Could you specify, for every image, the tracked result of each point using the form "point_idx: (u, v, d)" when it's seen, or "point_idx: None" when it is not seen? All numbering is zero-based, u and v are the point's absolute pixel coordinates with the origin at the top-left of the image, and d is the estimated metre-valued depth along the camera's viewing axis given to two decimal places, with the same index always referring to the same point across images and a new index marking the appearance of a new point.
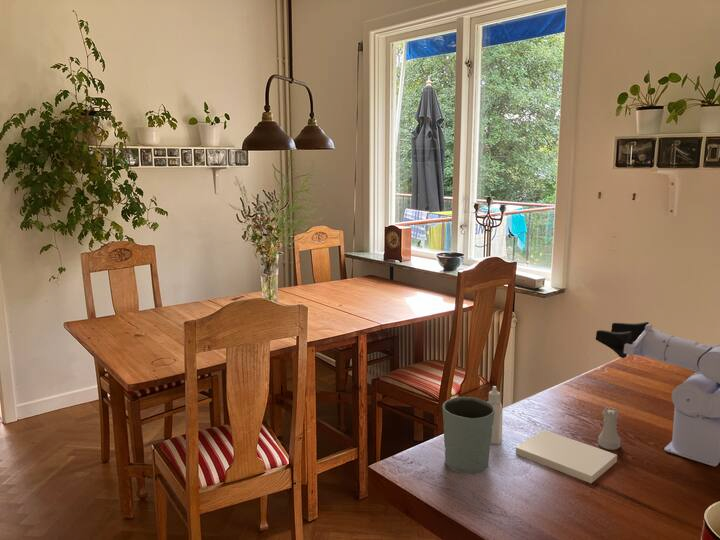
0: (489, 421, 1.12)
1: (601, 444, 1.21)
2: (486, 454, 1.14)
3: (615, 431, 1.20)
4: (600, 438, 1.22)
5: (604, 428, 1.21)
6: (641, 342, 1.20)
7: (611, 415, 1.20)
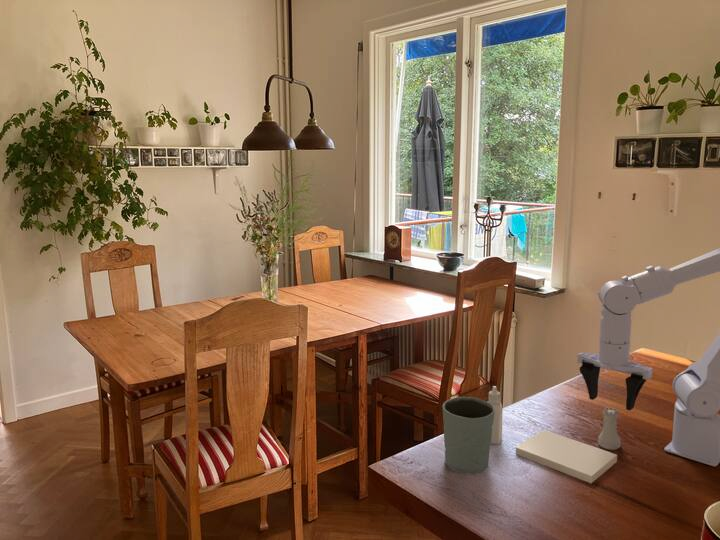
0: (489, 421, 1.12)
1: (601, 444, 1.21)
2: (486, 454, 1.14)
3: (615, 431, 1.20)
4: (600, 438, 1.22)
5: (604, 428, 1.21)
6: (626, 366, 1.16)
7: (611, 415, 1.20)
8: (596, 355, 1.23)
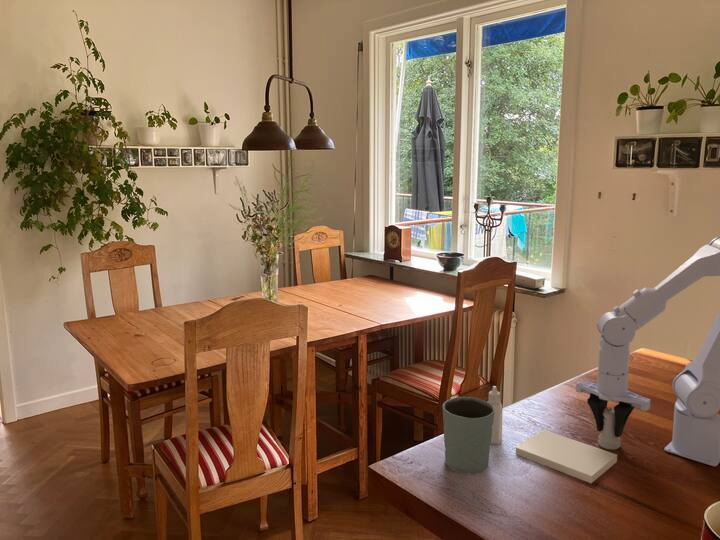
0: (489, 421, 1.12)
1: (601, 444, 1.21)
2: (486, 454, 1.14)
3: None
4: (600, 438, 1.22)
5: (604, 428, 1.21)
6: (624, 396, 1.17)
7: (611, 415, 1.20)
8: (595, 384, 1.24)
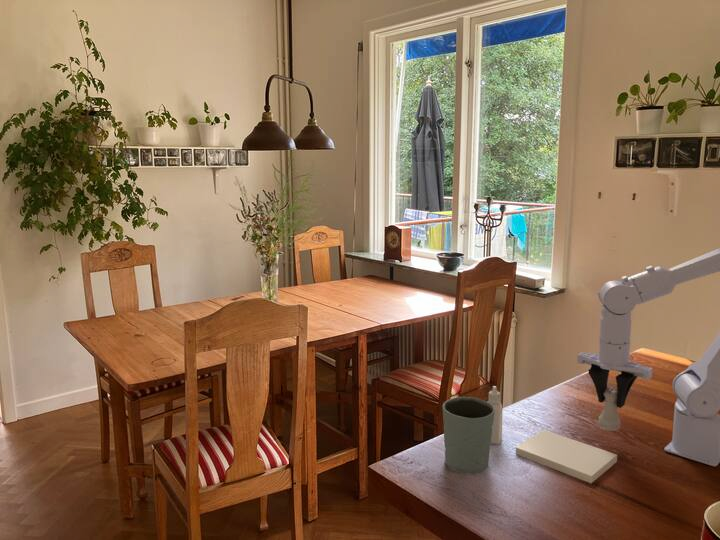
0: (489, 421, 1.12)
1: (601, 424, 1.21)
2: (486, 454, 1.14)
3: (615, 412, 1.20)
4: (600, 418, 1.21)
5: (604, 408, 1.21)
6: (626, 366, 1.16)
7: (612, 395, 1.19)
8: (596, 355, 1.23)
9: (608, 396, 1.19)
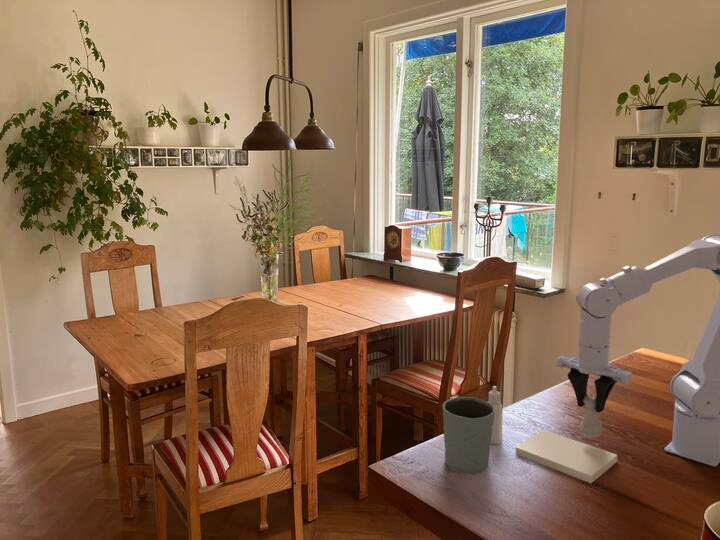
0: (489, 421, 1.12)
1: (582, 431, 1.19)
2: (486, 454, 1.14)
3: (596, 418, 1.18)
4: (581, 425, 1.19)
5: (585, 415, 1.19)
6: (605, 370, 1.14)
7: (591, 402, 1.17)
8: (576, 359, 1.21)
9: (587, 402, 1.17)
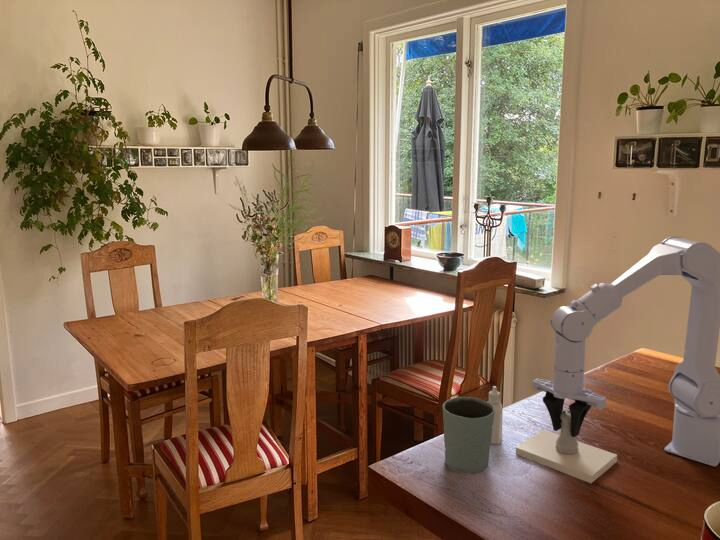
0: (489, 421, 1.12)
1: (558, 448, 1.17)
2: (486, 454, 1.14)
3: None
4: (557, 442, 1.17)
5: (561, 432, 1.17)
6: (580, 394, 1.12)
7: (568, 418, 1.15)
8: (551, 382, 1.19)
9: (564, 419, 1.16)
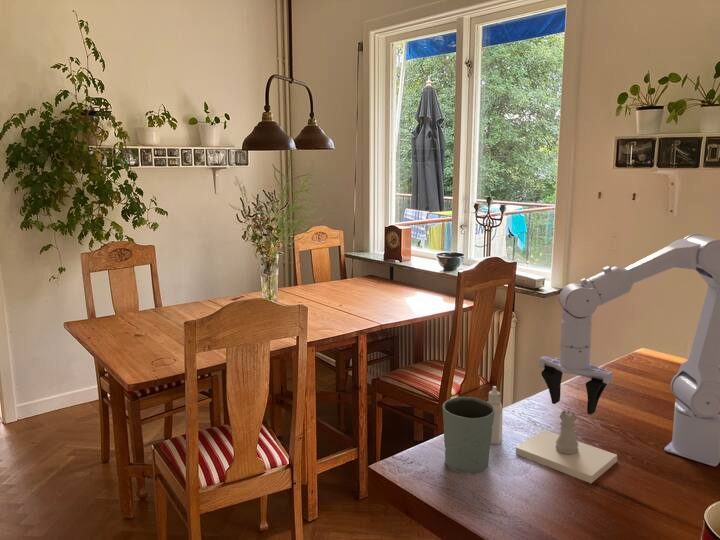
0: (489, 421, 1.12)
1: (558, 448, 1.17)
2: (486, 454, 1.14)
3: (572, 435, 1.16)
4: (557, 442, 1.17)
5: (561, 432, 1.17)
6: (586, 370, 1.15)
7: (568, 418, 1.15)
8: (558, 359, 1.22)
9: (564, 419, 1.16)
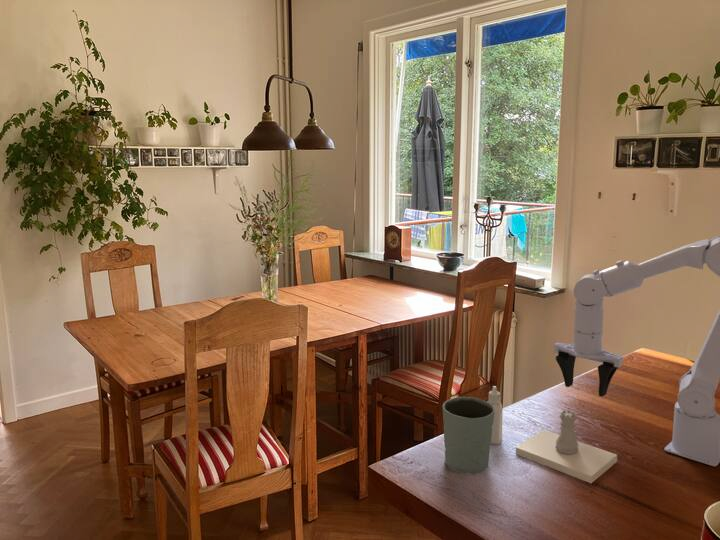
0: (489, 421, 1.12)
1: (558, 448, 1.17)
2: (486, 454, 1.14)
3: (572, 435, 1.16)
4: (557, 442, 1.17)
5: (561, 432, 1.17)
6: (598, 354, 1.23)
7: (568, 418, 1.15)
8: (571, 345, 1.30)
9: (564, 419, 1.16)
